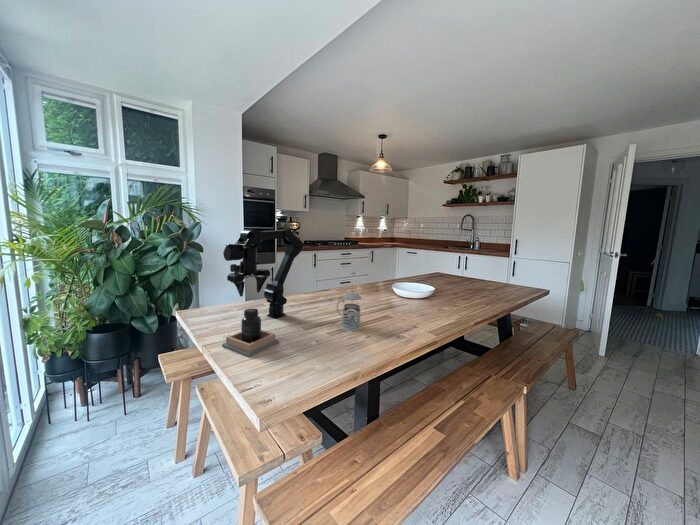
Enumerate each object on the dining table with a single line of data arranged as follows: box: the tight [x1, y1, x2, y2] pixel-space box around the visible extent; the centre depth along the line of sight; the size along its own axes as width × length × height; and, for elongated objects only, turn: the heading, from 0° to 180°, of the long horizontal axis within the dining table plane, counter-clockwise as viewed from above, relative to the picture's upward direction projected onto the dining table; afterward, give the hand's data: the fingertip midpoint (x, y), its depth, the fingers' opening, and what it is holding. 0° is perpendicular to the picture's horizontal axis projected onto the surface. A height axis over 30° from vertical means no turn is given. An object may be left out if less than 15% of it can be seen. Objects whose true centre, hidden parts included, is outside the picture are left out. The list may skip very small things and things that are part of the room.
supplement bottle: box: [240, 308, 262, 344], centre depth 104 cm, size 7×7×12 cm
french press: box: [336, 271, 363, 332], centre depth 124 cm, size 10×12×25 cm
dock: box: [221, 329, 280, 358], centre depth 104 cm, size 14×14×4 cm
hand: (250, 294), depth 124 cm, fingers open, 9 cm apart
